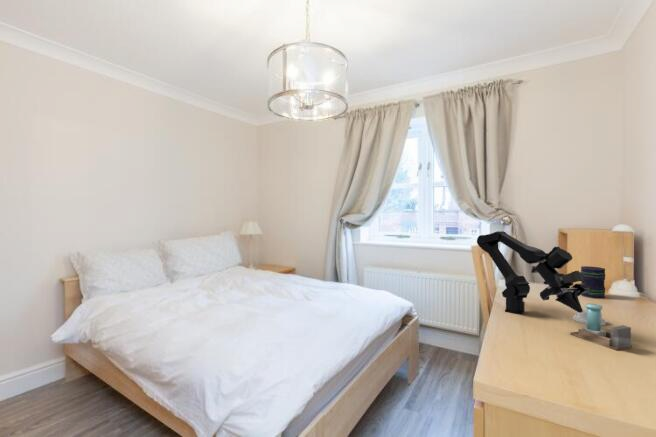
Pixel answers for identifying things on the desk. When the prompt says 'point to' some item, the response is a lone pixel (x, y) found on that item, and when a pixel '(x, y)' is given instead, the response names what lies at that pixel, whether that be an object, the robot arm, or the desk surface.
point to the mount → (609, 337)
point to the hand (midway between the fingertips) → (581, 312)
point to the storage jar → (593, 282)
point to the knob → (594, 320)
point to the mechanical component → (585, 317)
